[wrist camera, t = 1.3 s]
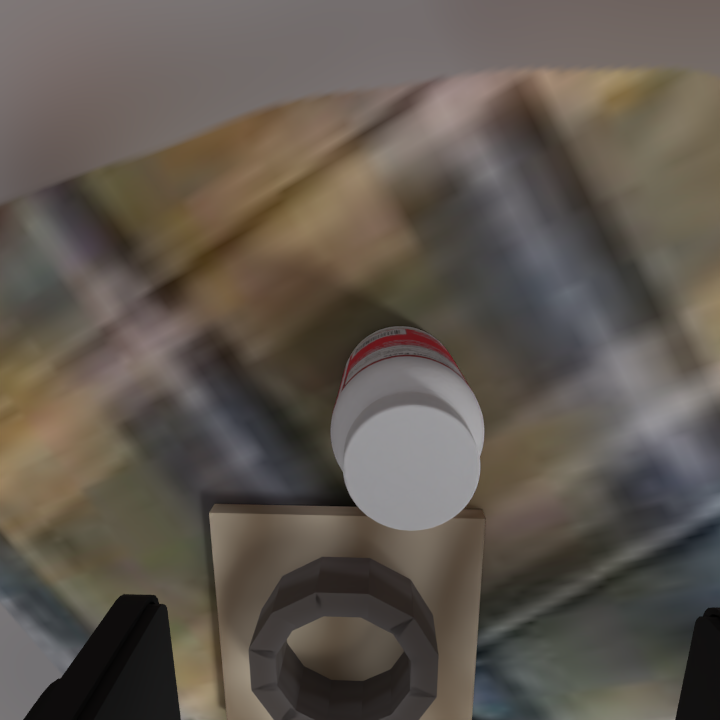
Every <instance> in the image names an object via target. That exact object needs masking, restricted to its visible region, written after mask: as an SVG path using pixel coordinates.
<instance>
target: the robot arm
mask: <svg viewBox="0 0 720 720" xmlns="http://www.w3.org/2000/svg"><path fill="white" fill-rule="evenodd" d="M23 720H181V719H180V710H179V702H178V693H177V685H176V677H175V669H174V661H173V652H172V644H171V636H170V628H169V620H168V611H167V607H166V605H164V604H159V602H158V598H157V597H156V596H155V595H129V594H124V595H122V596H120V597H119V598H118V599H117V600H116V601H115V603H114V604H113V606H112V607H111V608H110V610H109V611H108V613H107V614H106V616H105V617H104V618H103V620H102V621H101V623H100V624H99V625H98V627H97V628H96V630H95V631H94V632H93V634H92V635H91V637H90V638H89V639H88V641H87V642H86V644H85V645H84V647H83V648H82V649H81V651H80V652H79V654H78V655H77V656H76V658H75V659H74V661H73V662H72V663H71V665H70V666H69V668H68V669H67V670H66V672H65V673H64V675H63V676H62V678H61V679H57V680H56V681H54V682H53V683H52V684H50V685H49V687H48V688H47V689H46V690H45V691H44V692H43V693H42V695H41V696H40V698H39V699H38V700H37V702H36V703H35V704H34V706H33V707H32V708H31V710H30V711H29V713H28V714H27V715H26V717H25V718H24V719H23ZM675 720H720V608H708V609H707V610H706V611H705V613H704V615H703V617H699V618H698V619H697V620H696V623H695V627H694V632H693V637H692V642H691V646H690V651H689V656H688V661H687V666H686V671H685V676H684V680H683V685H682V690H681V695H680V700H679V705H678V710H677V714H676V719H675Z"/></svg>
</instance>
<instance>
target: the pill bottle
mask: <svg viewBox="0 0 720 720" xmlns="http://www.w3.org/2000/svg"><path fill="white" fill-rule="evenodd" d="M331 443H332V448H333V452H334V455H335V458H336V460H337V462H338V464H339V466H340V468H341V470H342V471H343V476H344V481H345V485H346V487H347V490H348V492H349V494H350V496H351V498H352V500H353V501H354V502H355V504H356V505H357V506H358V508H359V509H360V510H361V511H362V512H364V513H365V514H366V515H367V516H368V517H370V518H371V519H373V520H374V521H376V522H378V523H380V524H382V525H384V526H387V527H390V528H393V529H398V530H408V531H416V530H424V529H429V528H433V527H435V526H438V525H441V524H443V523H445V522H447V521H449V520H450V519H452V518H453V517H455V516H456V515H457V514H458V513H460V512H461V511H462V510H463V509H464V507H465V506H466V505H467V504H468V503H469V501H470V500H471V498H472V496H473V494H474V492H475V490H476V488H477V485H478V482H479V477H480V455H481V452H482V448H483V443H484V421H483V415H482V412H481V409H480V406H479V403H478V401H477V399H476V397H475V395H474V393H473V391H472V390H471V388H470V386H469V385H468V383H467V381H466V380H465V378H464V377H463V375H462V373H461V372H460V370H459V368H458V366H457V365H456V363H455V362H454V360H453V358H452V357H451V355H450V354H449V352H448V351H447V349H446V348H445V347H444V346H443V345H442V344H441V342H439V341H438V340H437V339H436V338H435V337H433V336H432V335H430V334H429V333H427V332H425V331H422V330H420V329H417V328H413V327H407V326H394V327H388V328H384V329H381V330H378V331H376V332H374V333H372V334H370V335H369V336H367V337H366V338H365V339H363V340H362V341H361V342H360V343H359V344H358V345H357V346H356V348H355V349H354V350H353V352H352V353H351V355H350V357H349V359H348V361H347V364H346V366H345V370H344V373H343V376H342V381H341V385H340V388H339V392H338V396H337V399H336V402H335V406H334V409H333V414H332V420H331Z"/></svg>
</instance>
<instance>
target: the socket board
mask: <svg viewBox="0 0 720 720" xmlns="http://www.w3.org/2000/svg"><path fill="white" fill-rule="evenodd" d="M209 519H210V530H211V542H212V553H213V565H214V576H215V588H216V599H217V610H218V622H219V633H220V645H221V656H222V668H223V679H224V691H225V702H226V714H227V720H472V709H473V695H474V680H475V665H476V651H477V636H478V621H479V607H480V592H481V578H482V563H483V548H484V534H485V516H484V514H483V511H482V509H463V510H462V511H461V512H460V513H458V514H457V515H456V516H455V517H453V518H452V519H450V520H449V521H447V522H445V523H443V524H441V525H438V526H435V527H433V528H429V529H424V530H416V531H408V530H398V529H393V528H390V527H387V526H384V525H382V524H380V523H378V522H376V521H374V520H373V519H371V518H370V517H368V516H367V515H366V514H365V513H364V512H362V511H361V510H360V509H359V508H358V507H344V506H297V505H250V504H214V506H213V507H212V509H211V510H210V512H209Z"/></svg>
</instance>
